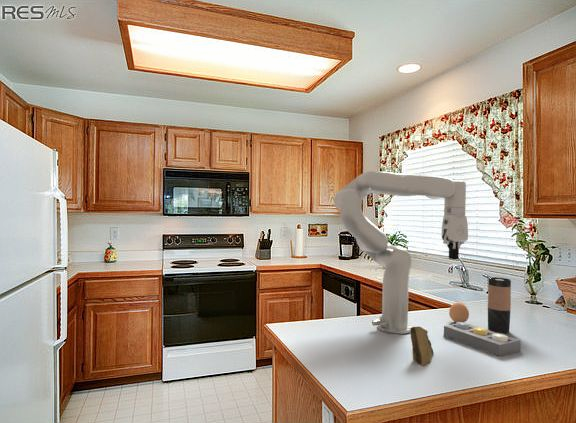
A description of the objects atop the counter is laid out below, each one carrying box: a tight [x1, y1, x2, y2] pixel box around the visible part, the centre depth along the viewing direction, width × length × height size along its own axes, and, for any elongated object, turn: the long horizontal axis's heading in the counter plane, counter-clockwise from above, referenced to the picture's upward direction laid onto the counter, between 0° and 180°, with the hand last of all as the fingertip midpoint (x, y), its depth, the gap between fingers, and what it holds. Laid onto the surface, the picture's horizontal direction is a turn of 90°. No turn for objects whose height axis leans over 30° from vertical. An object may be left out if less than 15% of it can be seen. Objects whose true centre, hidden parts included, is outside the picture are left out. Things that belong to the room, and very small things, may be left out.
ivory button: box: [492, 333, 508, 343], centre depth 120 cm, size 4×4×3 cm
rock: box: [410, 326, 435, 367], centre depth 111 cm, size 11×9×10 cm
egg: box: [449, 301, 470, 323], centre depth 150 cm, size 7×7×8 cm
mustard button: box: [473, 327, 488, 336], centre depth 127 cm, size 4×4×3 cm
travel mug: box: [487, 276, 512, 335], centre depth 142 cm, size 8×8×20 cm
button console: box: [443, 323, 522, 357], centre depth 127 cm, size 11×21×4 cm, turn 27°
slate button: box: [455, 322, 470, 330], centre depth 133 cm, size 4×4×3 cm
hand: (453, 258), depth 143 cm, fingers closed
